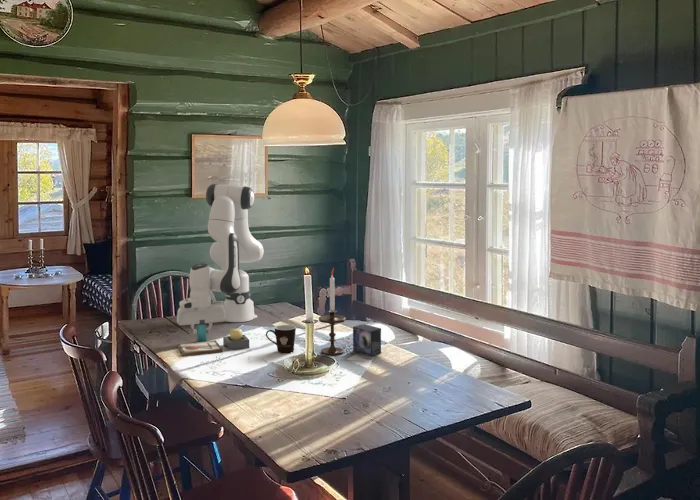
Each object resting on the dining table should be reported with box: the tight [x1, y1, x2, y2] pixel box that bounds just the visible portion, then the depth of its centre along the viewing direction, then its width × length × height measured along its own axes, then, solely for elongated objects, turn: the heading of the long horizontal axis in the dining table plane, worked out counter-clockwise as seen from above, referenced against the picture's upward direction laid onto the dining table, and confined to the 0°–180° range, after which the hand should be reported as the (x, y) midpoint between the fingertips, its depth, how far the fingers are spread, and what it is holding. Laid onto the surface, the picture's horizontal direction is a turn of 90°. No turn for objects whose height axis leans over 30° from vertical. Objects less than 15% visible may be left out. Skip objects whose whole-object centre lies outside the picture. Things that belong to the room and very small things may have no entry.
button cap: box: [229, 328, 243, 341], centre depth 282 cm, size 5×5×4 cm
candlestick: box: [318, 267, 347, 357], centre depth 271 cm, size 11×11×35 cm
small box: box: [352, 323, 382, 357], centre depth 273 cm, size 11×6×10 cm, turn 45°
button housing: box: [222, 334, 250, 351], centre depth 283 cm, size 9×9×4 cm
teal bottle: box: [196, 320, 208, 342], centre depth 290 cm, size 4×4×10 cm
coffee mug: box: [265, 324, 297, 355], centre depth 275 cm, size 12×9×10 cm
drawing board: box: [176, 339, 224, 357], centre depth 278 cm, size 15×16×1 cm
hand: (201, 333), depth 290 cm, fingers closed on teal bottle, 4 cm apart
